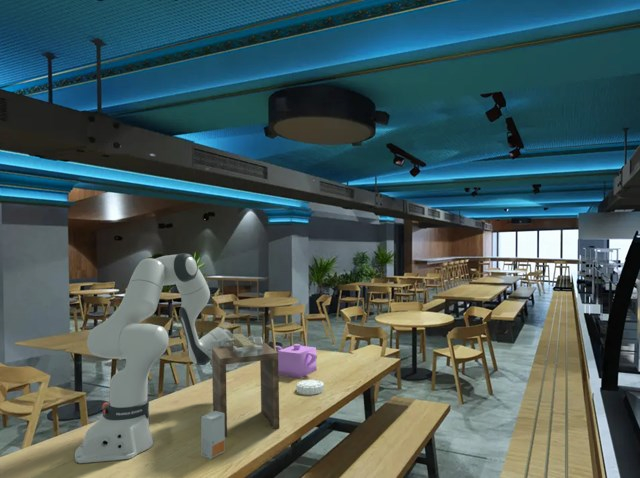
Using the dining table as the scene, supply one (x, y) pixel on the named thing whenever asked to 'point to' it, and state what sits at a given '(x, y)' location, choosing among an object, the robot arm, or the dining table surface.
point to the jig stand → (268, 377)
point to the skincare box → (212, 434)
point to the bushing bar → (241, 341)
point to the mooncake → (310, 387)
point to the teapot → (296, 360)
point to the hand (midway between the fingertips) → (239, 338)
